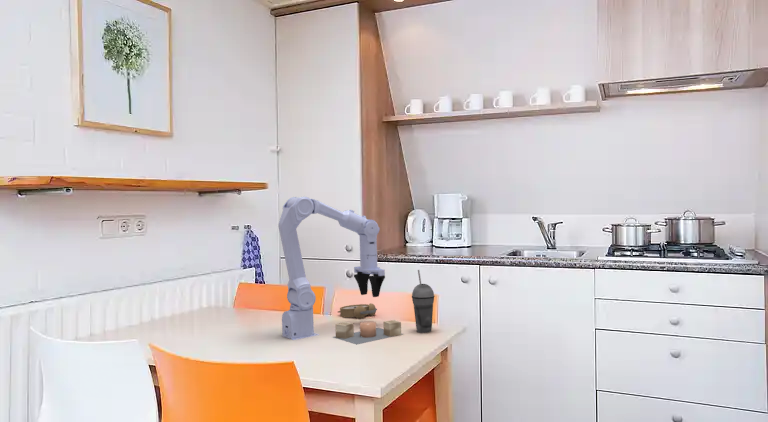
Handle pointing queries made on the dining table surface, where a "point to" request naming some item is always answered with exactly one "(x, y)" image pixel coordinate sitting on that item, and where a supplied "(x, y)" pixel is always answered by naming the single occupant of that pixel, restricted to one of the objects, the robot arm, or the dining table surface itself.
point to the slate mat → (359, 340)
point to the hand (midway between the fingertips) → (369, 295)
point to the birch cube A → (344, 330)
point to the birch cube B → (392, 328)
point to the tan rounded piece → (368, 329)
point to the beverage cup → (423, 306)
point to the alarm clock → (358, 310)
